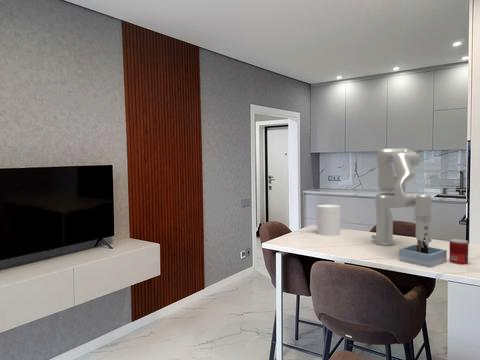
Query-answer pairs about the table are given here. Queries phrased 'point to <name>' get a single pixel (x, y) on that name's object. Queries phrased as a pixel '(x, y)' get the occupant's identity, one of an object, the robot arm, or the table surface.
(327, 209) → the canister
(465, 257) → the canned food
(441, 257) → the slate box
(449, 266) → the table surface
